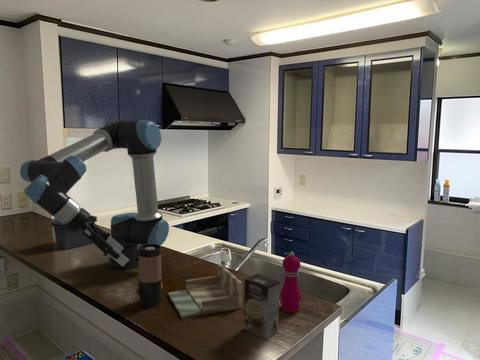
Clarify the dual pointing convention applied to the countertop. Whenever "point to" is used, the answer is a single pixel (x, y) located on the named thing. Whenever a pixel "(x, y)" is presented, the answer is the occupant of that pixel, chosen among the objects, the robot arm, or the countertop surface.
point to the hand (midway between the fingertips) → (123, 256)
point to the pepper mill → (290, 284)
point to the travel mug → (150, 275)
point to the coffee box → (261, 305)
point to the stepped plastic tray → (209, 294)
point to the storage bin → (70, 235)
